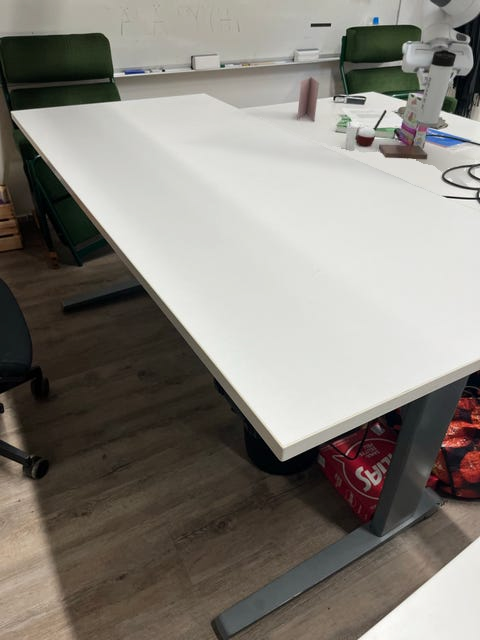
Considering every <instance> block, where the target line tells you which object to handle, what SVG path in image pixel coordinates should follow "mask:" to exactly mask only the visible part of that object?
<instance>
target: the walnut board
mask: <svg viewBox="0 0 480 640" xmlns="http://www.w3.org/2000/svg"><path fill="white" fill-rule="evenodd" d="M378 149H379V152H381V154H382V155H383V157H384V158H385V159H386V158H387V159H407V160H408V159H411V160H427V159H428V155H429V154H428V153H426V152H425V150H424V148H423V149H422V148H421V147H420V146H409V145H405V144H384V143H383V144H379V145H378Z"/></svg>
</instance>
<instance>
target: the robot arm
mask: <svg viewBox="0 0 480 640" xmlns="http://www.w3.org/2000/svg"><path fill="white" fill-rule="evenodd" d="M479 15H480V0H423V3H422V7H421V19H420V20H421V22H420V23H421V24H420V25H421V29H422V32H421V35H420V36H421V37H420V39H421V40H419V41H418V40H417V41H413V40H407V42H404V43H403V44H402V47H401V53H402V54H403V56H402V61H401V70H402V72H403V73H407V74H408V73H411V74H412V73H413V74H416V77H417V78H418V79H419V81H420V86H424V87H425V86H426V84H427V83H428V76H426V75H428V74H429V70H430V66H431V63H432V59H433V55H434V52H437V51H442V50H448V52H452V53H454V54H456V58H455V61H454V65H453V68H452V73H451V76H450V80H449V84H448V87H447V88H452V87H453V85H454V78H455V77H456V76H467V75H468V74H469V73H470V72H471V70H472V69H473V67H474V55H473V49H472V46H470V42H471V37H470V36H469V35H468V34H464V33H461V32H459V31H457V30H455V29H457V28H459V27H462V26H464V25H466V24H468V23H470V22H472V21H474V20H475V19H476V18H477V17H479ZM425 74H426V75H425Z"/></svg>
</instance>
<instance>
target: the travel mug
mask: <svg viewBox="0 0 480 640" xmlns="http://www.w3.org/2000/svg"><path fill="white" fill-rule="evenodd" d="M455 58H456V54H454V53H452V52H448V50H442V51H437V52H434V55H433V59H432V63H431V66H430V70H429V74H427V77H428V83H427V84H426V86H424V90H423V93H422V94H423V97H422V101H421V105H420V109H419V113H418V118H417V121H416V124H417V125H420V126H423V127H429V128H436V127H437V126H438V122H439V118H440V116H441V112H442V109H443V105H444V101H445V97H446V94H447V90H448V88H449V87H448V84H449V80H450V78H451V77H450V76H451V73H452V68H453V65H454V61H455Z"/></svg>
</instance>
